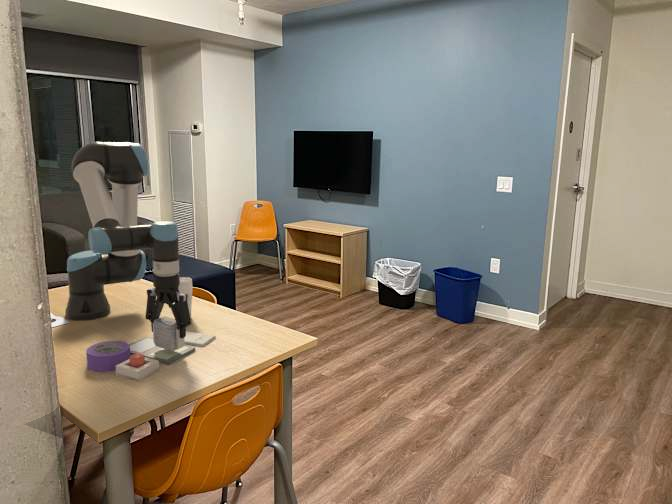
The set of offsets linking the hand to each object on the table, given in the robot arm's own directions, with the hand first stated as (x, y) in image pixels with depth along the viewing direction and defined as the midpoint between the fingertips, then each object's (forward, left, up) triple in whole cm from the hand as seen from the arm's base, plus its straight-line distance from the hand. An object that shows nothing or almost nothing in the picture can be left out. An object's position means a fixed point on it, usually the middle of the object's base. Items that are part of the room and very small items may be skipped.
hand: (169, 344), depth 156 cm
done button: (+1, -14, -1) cm, 14 cm away
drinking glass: (-18, +28, -3) cm, 33 cm away
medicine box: (0, 0, -1) cm, 1 cm away
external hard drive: (-1, +13, -4) cm, 14 cm away
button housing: (+1, -14, -3) cm, 14 cm away
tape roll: (-11, -13, -4) cm, 17 cm away
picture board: (-5, 0, -3) cm, 6 cm away
